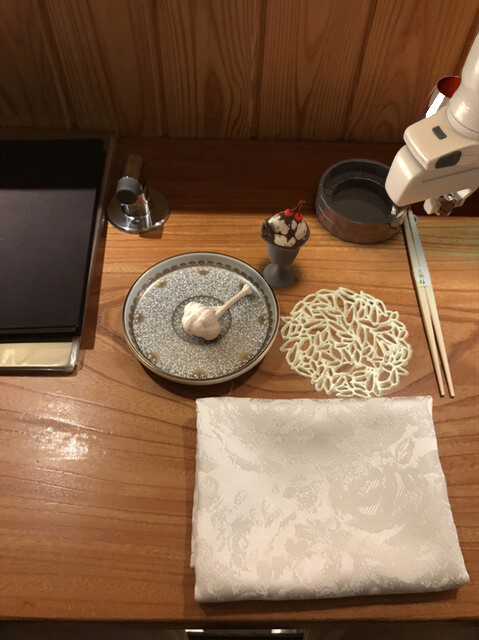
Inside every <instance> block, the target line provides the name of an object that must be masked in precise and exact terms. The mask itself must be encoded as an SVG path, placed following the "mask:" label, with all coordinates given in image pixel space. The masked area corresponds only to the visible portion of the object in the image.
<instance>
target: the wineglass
mask: <svg viewBox="0 0 479 640" xmlns="http://www.w3.org/2000/svg"><path fill="white" fill-rule="evenodd" d="M461 80H462V76H458V75H456V76H455V75H446V76H443V77H440V78H439V79H438V80H437V81H436V82H435V84H434V85H433V86H432V87H431V89H430V90H429V92H428V93H427V95H426V96H425V98H424V99H423V100H422V101H421V103H420V105H419V107H418V109H417V111H416V114H415V120H414V121H415V122H414V124H415V123H417V122H419V121H421V120H423V119H425V118H427V117H428V116H430V115H432V114H434V113H435V112H437V111H438V110H440V109H441V108H442V107H444V106H446V105H448V104H449V103H450V101H451V98H452V96H453V95H454V93H455V92H456V91H457V89H458V88H459V86H460V84H461Z"/></svg>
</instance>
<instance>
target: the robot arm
mask: <svg viewBox="0 0 479 640" xmlns="http://www.w3.org/2000/svg"><path fill="white" fill-rule="evenodd" d="M461 78H462V80H461V84H460V86H459V88H458V89H457V91H456V92H455V93H454V95H453V96H452V98H451V101H450V103H449V104H448V105H446V106H444V107H442V108H441V109H440V110H438V111H437V112H435V113H434V114H432V115H430V116H428V117H427V118H425V119H423V120H421V121H419V122H417V123H415V122H414V123H413V124H411V125H409V126H408V127H407V128H406V129H405V131H404V133H403V140H404V142H405V145H403V146H402V147H401V148H400V149H399V150H398V151H397V153H396V155H395V156H394V159H393V161H392V163H391V165H390V167H391V168H390V171H389V173H388V176H387V180H386V184H385V188H386V191H387V193H388V195H389V196H390V198H391V199H392V201H393V202H394V203H395V204H396V205H397V206H405V205H408V204H410V205H411V204H415V203H419V202H423V201H424V203H423V209H424V211H425V212H426V213H427V214H428V215H431V214H435V212H438V211H439V208H440V207H441V203H440V202H439V201H437V200H438V199H439V198H441V197H442V196H443V195H446V194H447V195H449V196H450V197H452V198H453V197H454V199H452V200H451V202H452V204H453V209H454V208H457V207H461V206H463V205H464V203H465V201H466V199H467V198H468V197H470V196H471V195H472V194H474V192H475V191H477V190H478V189H479V31H478V33H477V35H476V36H475V39H474V41H473V42H472V45H471V47H470V50H469V52H468V55H467V57H466V59H465V62H464V64H463V67H462V71H461ZM443 197H444V196H443ZM450 197H449V198H448V197H447V198H448V199H449V200H450V199H451V198H450Z"/></svg>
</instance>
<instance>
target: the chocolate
mask: <svg viewBox="0 0 479 640" xmlns="http://www.w3.org/2000/svg"><path fill="white" fill-rule="evenodd" d="M449 197H450V194H446V195H443V197H439V199H438V200H437V201H439V202H440V203H441V207H440V208H439V211H438V212H435V213H434V215H435V216H437V217H440V218H443V217H447V216H449V215H450V214H451V213H452V210H453V209H454V208H453V204H452V202H451V200H452V199H454V197H453V198H452V197H450V198H451V199H450V200H449V199H448V198H449Z"/></svg>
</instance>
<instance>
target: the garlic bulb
mask: <svg viewBox="0 0 479 640" xmlns="http://www.w3.org/2000/svg"><path fill="white" fill-rule="evenodd" d="M253 293H254V291H253V289H252V287H251V286H250V285H248V284H247V283H245V284H244V285H243V287H242V289H241V290H240V291H239V292H238V293H236V294H235V295H234V296H232V297H231V298H230V299H229V300H227V301H226V302H225V303H224V304H223V305H217V306H208V305H204V304H203V303H201V302H198V303H197V301H190V302H189V303H188V304H186V305H185V307H184V309H183V316H182V318H181V324H182V326H183V332H184V333H186V334H187V335H189V336H192V335H194V336H195V337H198V338H199V337H200V338H203V339H204V340H207V341H211V340H215V339H217V337H218V336H219V334H220V333H221V331H222V329H221V324H220V321H219V318H220V317H221V316H222V315H223V314H224V313H226V311H227V310H229V309H230V307H231V306H233V305H234V304H236V302H238V301H239V300H241V299H242V298H244V297H245V296H252V295H253Z"/></svg>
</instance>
